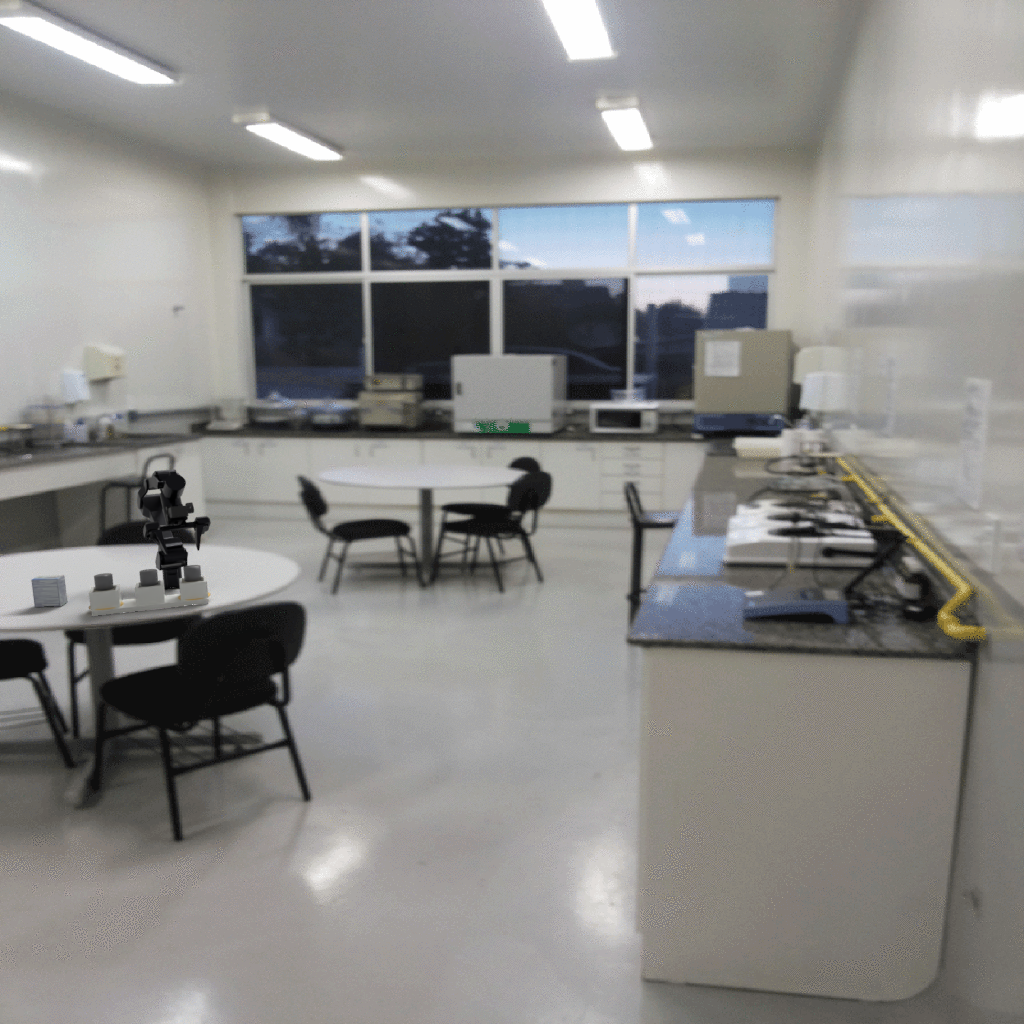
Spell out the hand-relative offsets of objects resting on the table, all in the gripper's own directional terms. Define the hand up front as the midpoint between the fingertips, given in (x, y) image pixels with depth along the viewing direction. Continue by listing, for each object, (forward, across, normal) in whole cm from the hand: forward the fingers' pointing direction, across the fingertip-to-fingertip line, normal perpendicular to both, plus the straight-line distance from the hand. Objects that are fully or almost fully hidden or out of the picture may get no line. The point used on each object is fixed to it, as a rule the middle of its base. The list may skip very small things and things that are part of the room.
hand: (182, 552), depth 265 cm
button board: (+13, -11, +6) cm, 18 cm away
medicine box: (+2, -35, +22) cm, 42 cm away
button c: (+6, -22, +4) cm, 24 cm away
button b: (+8, -11, +2) cm, 13 cm away
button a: (+9, +1, 0) cm, 9 cm away
